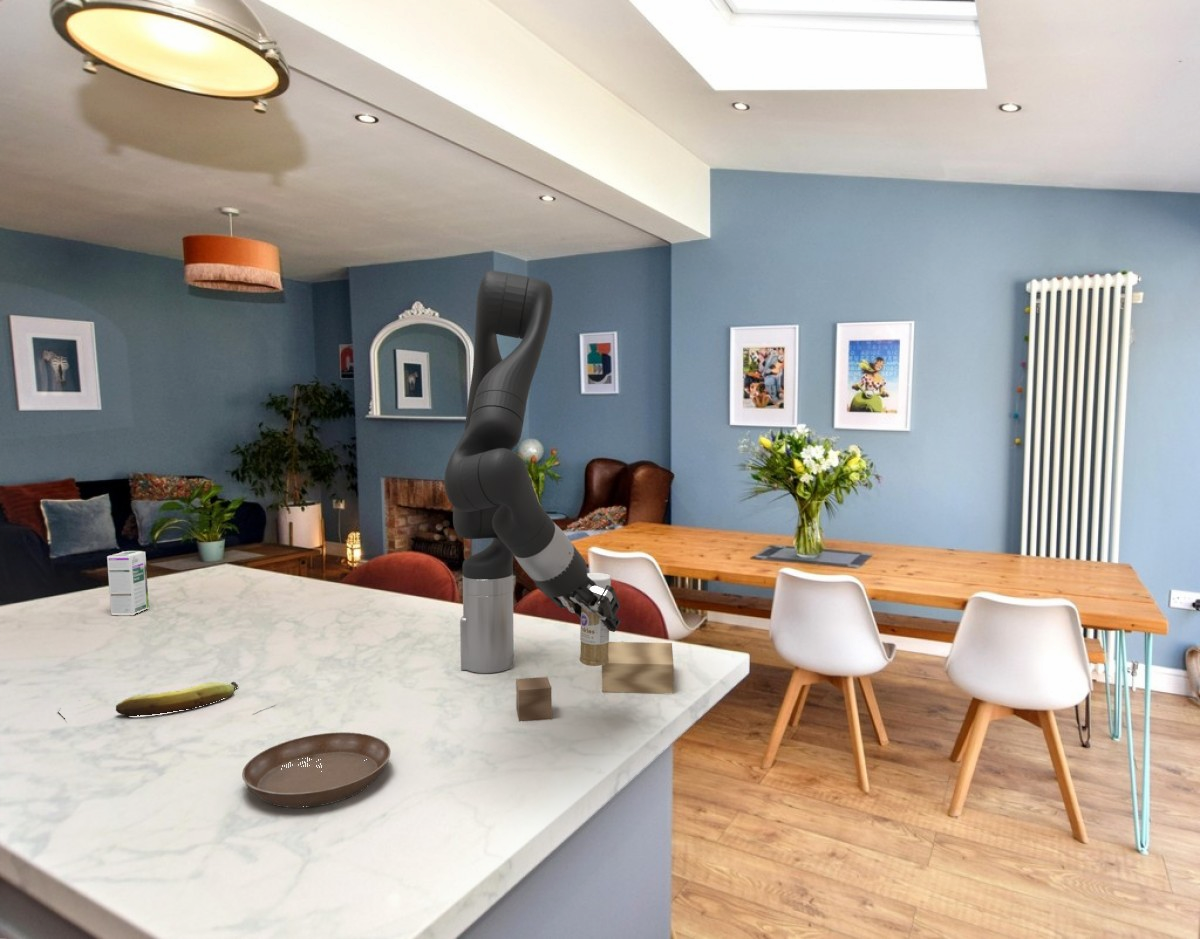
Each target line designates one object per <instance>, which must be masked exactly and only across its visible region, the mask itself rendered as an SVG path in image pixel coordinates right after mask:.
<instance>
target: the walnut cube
mask: <svg viewBox="0 0 1200 939" xmlns="http://www.w3.org/2000/svg"><path fill="white" fill-rule="evenodd" d="M548 677H549V676H540V677H527V678H526V677H525V678H516V679H515V680H516V681H515V685H516V686H515V690H516V691H515V692H516V694H515V695H516V697H515V699H516V700H515V701H516V702H515V703H516V704H515V706H516V713H517V718H518V722H519V723H521V721H522V722H533V721H534V720H535V721H544V720H552V714H553V713H552V712H553V711H552V710H553V709H552V706H553V705H552V702H553V701H552V685H551V682H550V679H549V678H548Z"/></svg>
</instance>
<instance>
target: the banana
mask: <svg viewBox="0 0 1200 939" xmlns="http://www.w3.org/2000/svg"><path fill="white" fill-rule="evenodd" d="M237 687H238V688H239V684H237V683H236V682H235V681H231V683H229V682H224V681H213V682H212V681H211V682H206V683H202V684H197V685H193V686H190V687H186V688H181V689H179V690H169V691H162V692H159V693H148V694H147V693H146V694H137V695H132V696H129V697H128V698H125V699H124V700H122V701H121V702H120V703H117V704H116V705H115V711H116V713H118V714H120V715H122V716H126V717H128V716H137V715H139V716H140V715H152V714H160V713H167V712H173V711H179V710H186V709H192V708H195V707H199V706H203V705H206V704H210V703H213V702H216V701H219V700H221V699H223V698H226V697H228V696H229V697H231V695H232V694H233V693H234V692H235V690H234V689H235V688H237ZM229 697H228V698H229ZM192 710H193V709H192Z"/></svg>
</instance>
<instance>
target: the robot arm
mask: <svg viewBox="0 0 1200 939" xmlns="http://www.w3.org/2000/svg"><path fill="white" fill-rule="evenodd" d="M481 278H482V279H481V280H480V283H479V287H478V291H477V297H476V298H477V299H476V310H475V326H474V327H475V330H474V349H473V350H474V351H473V353H474V354H473V363H472V364H473V366H472V374H471V381H470V387H469V394H468V398H467V399H468V400H467V407H466V413H465V423H464V432H463V433H462V436H461V437H460V439H459V441H458V443H457V445H456V447H455V449H454V451H453V452H452V454H451V456H450V458H449V460H448V462H447V466H446V468H445V472H444V481H443V483H444V491H445V495H446V497H447V499H448V501H449V503H450V504H451V505H452V506H453V511H452V524H453V528H454V531H455V534H456V535H457V537H459V538H461V539H465V540H477V539H480V540H481V539H482V540H483V539H492V542H491V543H490V545H488V546H487V547H486V548H484V549H483V550H481V551H479V552H477V553H475V554H473V555H470V556H469V557H466V558H465V559H464V560H463V561H462V614H463V615H462V617H461V618H460V620H459V623H460V624H459V626H460V628H459V629H460V630H459V632H460V640H459V642H460V670H462V671H463V670H464V671H465V670H466V671H469V672H471V673H472V672H473V673H477V674H478V673H479V674H491V673H494V674H495V673H500V672H503V671H507V670H510V669H511V668H512V667H513V666H514V664H515V652H514V651H515V650H514V648H515V646H514V641H515V640H514V636H515V635H514V634H515V633H514V569H513V566H514V565H513V564H514V558H515V559H516V561H517V563H518V564H519V566H520V567H521V568H522V569H523V571H524V572H525V573H526V574H527V576H528V577H530V579H531V580H532V581H533V582H534V584H535V585H536V586H535V587H536V588H537V589H538V590H539V591H540V592H541V593H543V594H544V595H545V596H546V597H547V598H548V599H549V600H551V602H553V604H555V605H556V606H558V607H559V608H560V609H565V608H567V610H568V611H569V612H570V613H572V614H575V615H576V616H577V617H578V619H580V621H581V607H582V608H584V609H585V610H586V611H587V612H589V613H594V614H595V615H596V616H597V617H599V618H600V620H601V621H602V622H603V623H604V625H605V626H606V627H607V628H608V630H609V632H612V633H615V632H616V631H617V630H618V627H619V625H620V623H621V619H620V618H619V617H618V616H617V613H618V611H619V609H620V606H621V605H620V604H621V603H620V602H619V598H618V596H617V594H616V593H617V592H616V591H615V588H614V587H613V586H612V585H611V586H609V585H607V586H606V588H605V590H604V589H602V588H599V587H597V586H596V583H595V582H594V581H593V580H591V579H590V578H589V577H588V576H587V573H588V569H587V567H588V566H587V562H586V559H585V558H584V556H583V555H582V554H581V553H580V551H579V550H578V549H577V547H576V546H575V544H573V542H572V541H571V540H570V538H569V537H568V536H567V535H566V533H565V532H564V531H563V530H562V529H561V527H559V526H558V525H557V524H556V523H555V521H553V519H552V518H551V517H550V515H548V513H547V512H546V510H545V509H544V507H542V505H541V503H540V501H539V499H538V496H537V494H536V491H535V489H534V486H533V483H532V480H531V477H530V474H529V471H528V468H527V464H526V463H525V461H524V460H523V459H522V457H521V456H520V455H519V454H517V453H516V452H514V451H513V450H514V449H515V447H516V446H517V445H518V444H519V443H520V441H521V438H522V432H523V428H524V421H525V415H526V409H527V402H528V397H529V393H530V389H531V385H532V381H533V379H534V376H535V373H536V370H537V368H538V364H539V362H540V357H541V354H542V350H543V347H544V344H545V340H546V337H547V333H548V329H549V326H550V321H551V320H550V319H551V316H552V315H551V314H552V308H553V289H552V286H551V285H550V283H549V282H547V281H545V280H543V279H540V278H536V277H531V276H527V275H521V274H516V273H510V272H505V271H498V270H489V271H486V272H485V273H484V274H483V276H482V277H481ZM497 335H499V336H503V337H509V338H515V339H519V340H521V341H520V343H519V344H518V345H517V346H516V347H515V348H514V349H513V350H512V351H511V352H510V353H509V354H508V355H507V356H506V357H504V358H502V355H501V352H500V348H499V343H498V337H497ZM593 597H594V598H593ZM592 599H593V600H592ZM590 602H591V603H590ZM589 603H590V605H589ZM600 604H601V607H602V609H601V611H600V610H599V609H598V606H599V605H600Z"/></svg>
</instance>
